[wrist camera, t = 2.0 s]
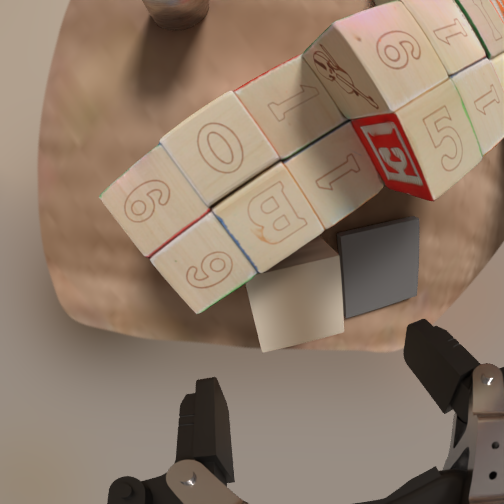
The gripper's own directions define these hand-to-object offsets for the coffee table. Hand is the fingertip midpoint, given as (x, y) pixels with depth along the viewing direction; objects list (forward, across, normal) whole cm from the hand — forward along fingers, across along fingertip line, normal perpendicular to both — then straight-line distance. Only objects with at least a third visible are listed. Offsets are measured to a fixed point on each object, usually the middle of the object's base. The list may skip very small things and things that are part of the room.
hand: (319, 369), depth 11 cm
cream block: (+11, 0, 0) cm, 11 cm away
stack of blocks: (+11, -4, -10) cm, 15 cm away
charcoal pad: (+11, -8, +2) cm, 14 cm away
